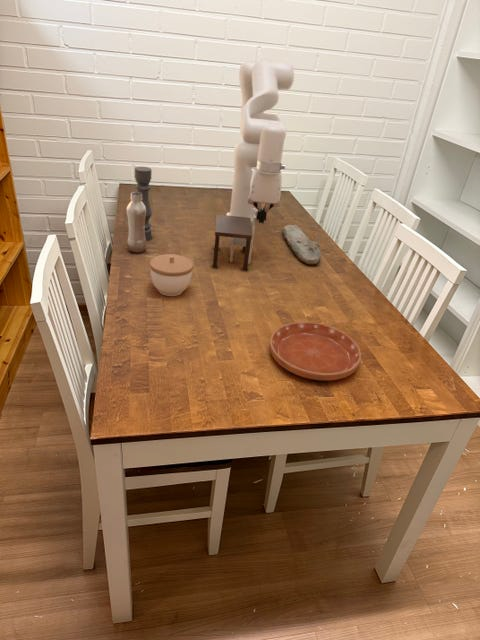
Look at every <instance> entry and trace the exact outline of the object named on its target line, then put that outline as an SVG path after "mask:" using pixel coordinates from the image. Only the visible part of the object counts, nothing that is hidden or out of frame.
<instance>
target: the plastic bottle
mask: <svg viewBox="0 0 480 640" xmlns="http://www.w3.org/2000/svg"><path fill="white" fill-rule="evenodd" d="M142 199H143V198H142V193H139V192H137V191H134V192H131V193H130V200H131V201H130V202H129V203H128V205H127V206H126V217H127V223H128V235H127V241H126V245H127V249H128V250H129V252H132V253H142V252H144V251H145V250H146V249H147V241H146V238H145V217H146V207H145V205H144V204H143V202H142Z"/></svg>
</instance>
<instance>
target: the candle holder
mask: <svg viewBox="0 0 480 640" xmlns="http://www.w3.org/2000/svg"><path fill="white" fill-rule="evenodd" d="M134 179H135V181H136V182H135V183H136V185H135V189H136V192H139V193H142V198H143V199H142V202H143V204H144V205H145V207H146V217H145V238H146V242H147V241H150V240H151V239H152V228H151V227H152V226H151V223H150V219H151V217H152V208H151V205H150V199H149V193H150V192H149V191H150V190H151V188H152V187H151V185H150V183H151V180H152V168H151V167H149V166H135V167H134Z"/></svg>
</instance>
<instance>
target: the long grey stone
mask: <svg viewBox="0 0 480 640" xmlns="http://www.w3.org/2000/svg"><path fill="white" fill-rule="evenodd" d="M282 234H283V238H284V239H285V240H286V241H287V245H288V246H289V247H290V249H291V251H292V252H293V253H294V254H295V256H296V257H297V259H298V260H300V262H303V263H304V264H307V265H317V264H319V262H320V261H321V258H322V252H321V250H320V248H319V247H320V246H321V245H320V243H319V242H317V241H312V240H310V239H309V237H308V236H307V235H306V233H305V232H304V231H303V230H302V229H301V228H300V226H297V225H295V224H285V226H283V228H282Z"/></svg>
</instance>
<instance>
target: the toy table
mask: <svg viewBox="0 0 480 640" xmlns="http://www.w3.org/2000/svg"><path fill="white" fill-rule="evenodd" d="M251 225H252V223H251V218H247V217H238V216H228V215H226V214H219V213H218V214H216V219H215V228H214V229H215V230H214V236H215V238H214V248H213V249H214V250H213V257H212V259H213V260H212V268H213V269H217V268H218V261H219V250H220V249H219V248H220V238H221V237H226V238H232V237H234V238H244V239H246V246H242V250H241V251H242V253H244V257H243V264H242V271H244V272H245V271H246V272H247V271H248V265H249V264H248V259H249V251H250V243H251V239H252V227H251Z"/></svg>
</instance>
